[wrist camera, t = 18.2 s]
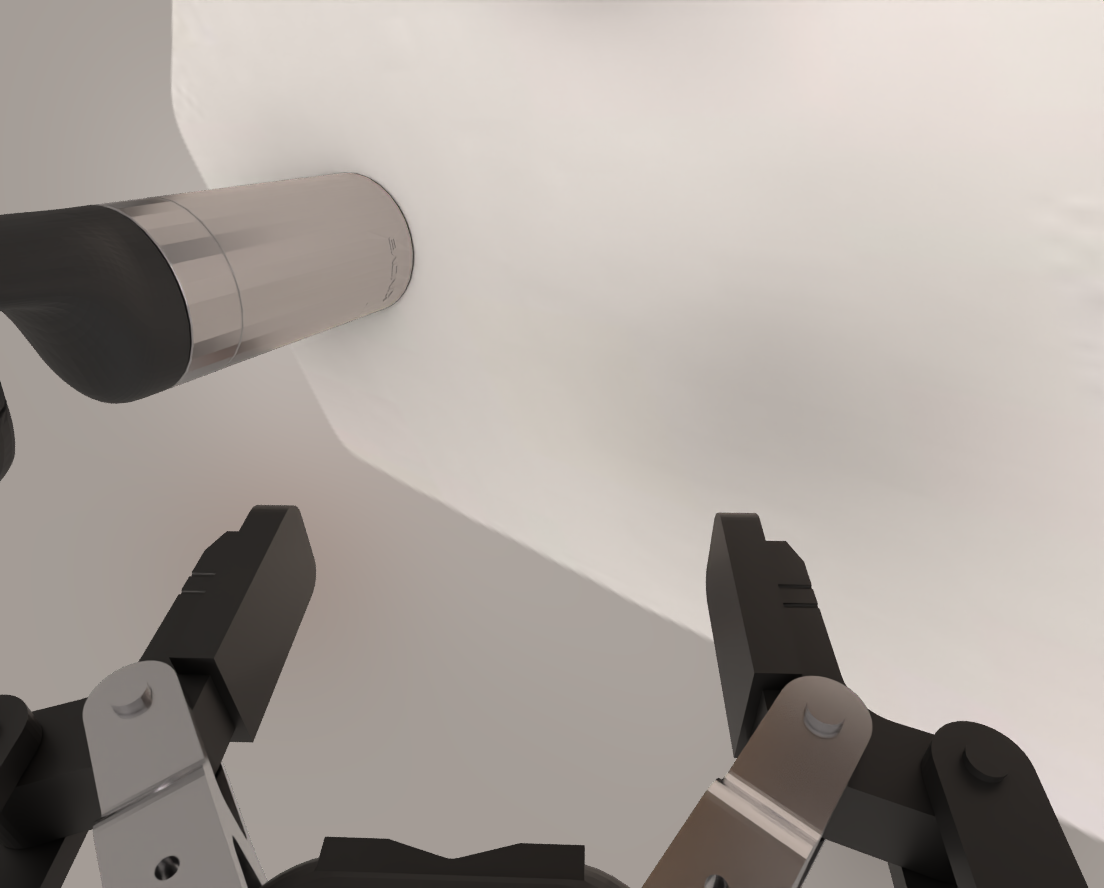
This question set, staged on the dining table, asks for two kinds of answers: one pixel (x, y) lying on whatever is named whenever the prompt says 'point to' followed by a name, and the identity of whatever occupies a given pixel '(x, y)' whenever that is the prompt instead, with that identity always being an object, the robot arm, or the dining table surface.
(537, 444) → the dining table surface
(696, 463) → the dining table surface
